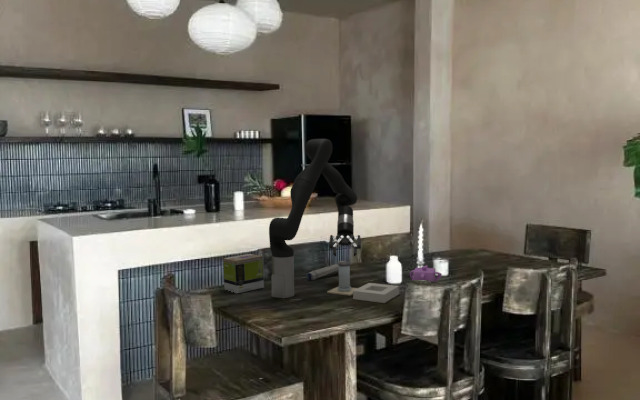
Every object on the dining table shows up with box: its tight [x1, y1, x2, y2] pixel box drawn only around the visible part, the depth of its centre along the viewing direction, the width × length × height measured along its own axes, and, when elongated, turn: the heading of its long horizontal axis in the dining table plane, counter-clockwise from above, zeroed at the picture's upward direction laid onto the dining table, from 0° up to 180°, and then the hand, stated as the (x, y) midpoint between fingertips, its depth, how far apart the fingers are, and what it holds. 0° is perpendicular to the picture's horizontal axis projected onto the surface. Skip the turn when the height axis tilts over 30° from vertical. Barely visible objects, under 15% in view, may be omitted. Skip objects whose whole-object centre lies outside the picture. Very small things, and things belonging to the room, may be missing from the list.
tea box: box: [222, 253, 265, 294], centre depth 269 cm, size 15×10×15 cm, turn 131°
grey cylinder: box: [306, 260, 346, 281], centre depth 294 cm, size 5×7×25 cm
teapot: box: [409, 264, 443, 282], centre depth 266 cm, size 18×14×10 cm
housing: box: [352, 282, 400, 304], centre depth 254 cm, size 16×14×4 cm
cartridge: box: [337, 261, 352, 292], centre depth 263 cm, size 6×6×12 cm
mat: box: [326, 286, 359, 297], centre depth 264 cm, size 11×11×1 cm
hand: (344, 255), depth 269 cm, fingers open, 8 cm apart
